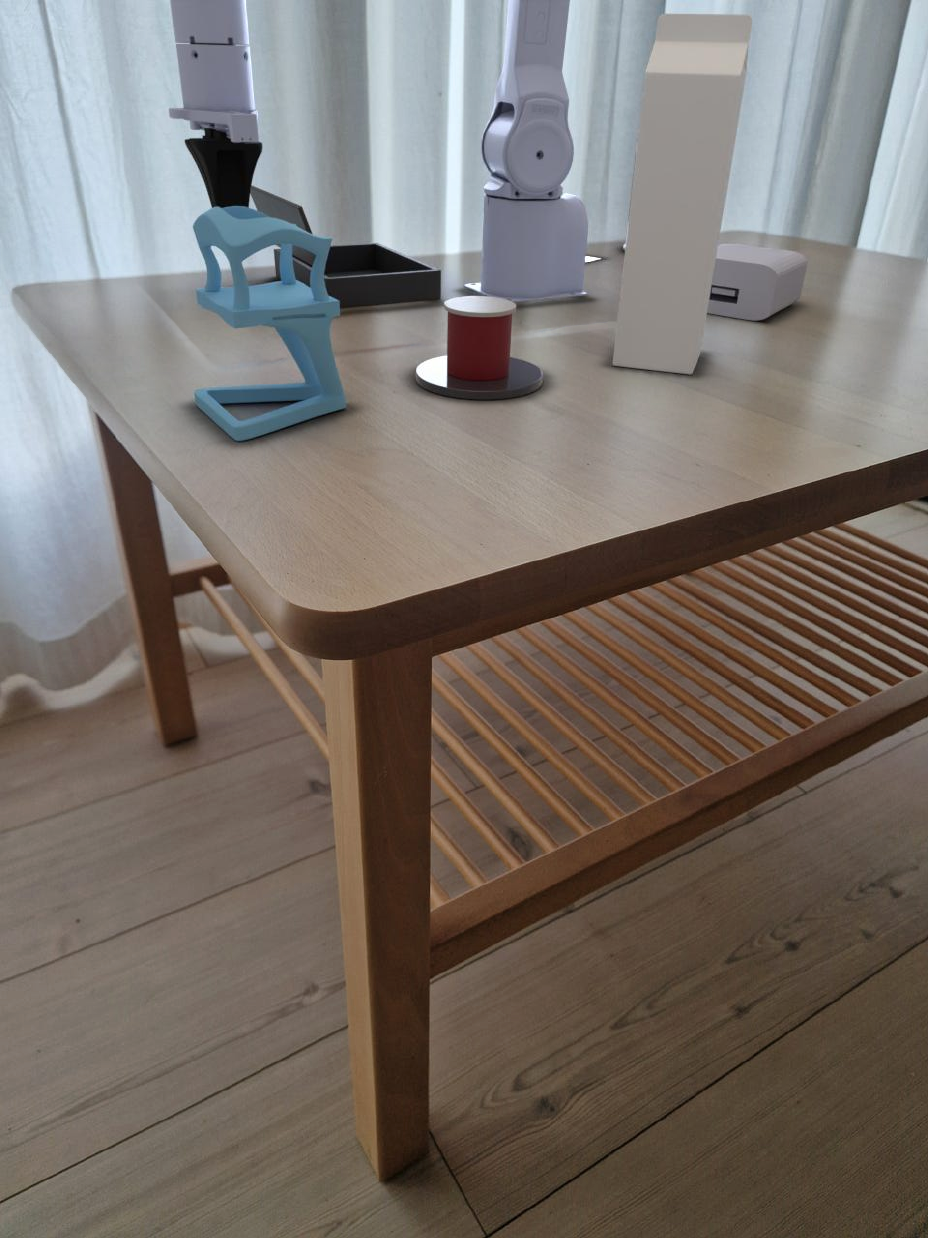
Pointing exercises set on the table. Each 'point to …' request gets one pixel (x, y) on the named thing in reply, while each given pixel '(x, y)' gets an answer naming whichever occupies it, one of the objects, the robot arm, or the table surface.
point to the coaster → (515, 384)
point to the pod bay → (371, 276)
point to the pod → (479, 337)
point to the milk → (680, 188)
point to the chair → (270, 317)
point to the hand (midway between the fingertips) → (232, 229)
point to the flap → (284, 217)
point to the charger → (755, 281)
